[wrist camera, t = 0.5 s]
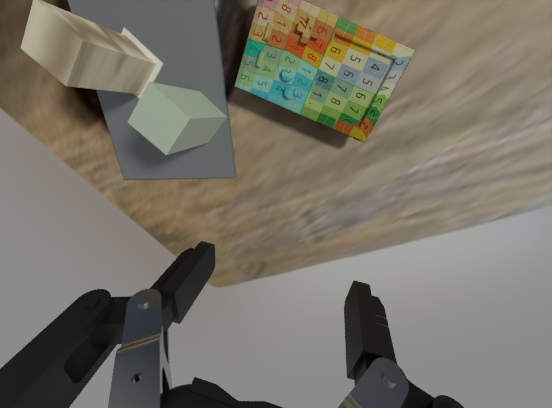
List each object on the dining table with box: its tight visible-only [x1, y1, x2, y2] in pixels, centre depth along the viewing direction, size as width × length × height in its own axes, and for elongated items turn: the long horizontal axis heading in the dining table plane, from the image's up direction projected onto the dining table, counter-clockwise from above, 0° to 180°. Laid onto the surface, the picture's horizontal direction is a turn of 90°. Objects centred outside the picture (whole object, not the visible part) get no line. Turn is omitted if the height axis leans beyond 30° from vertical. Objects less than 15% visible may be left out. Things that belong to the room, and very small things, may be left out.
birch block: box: [21, 0, 156, 94], centre depth 29 cm, size 6×6×12 cm
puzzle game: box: [234, 0, 415, 143], centre depth 30 cm, size 12×5×20 cm
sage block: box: [128, 82, 227, 155], centre depth 31 cm, size 6×6×12 cm
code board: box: [68, 0, 236, 179], centre depth 36 cm, size 28×22×1 cm
